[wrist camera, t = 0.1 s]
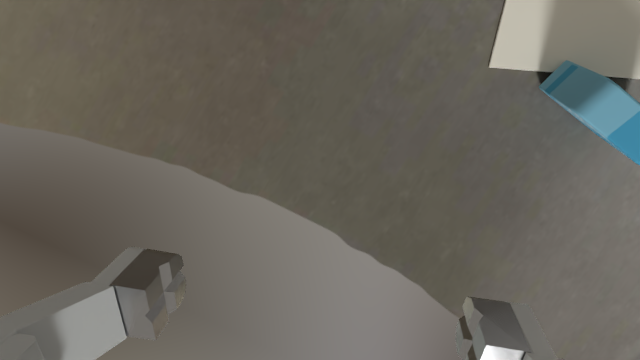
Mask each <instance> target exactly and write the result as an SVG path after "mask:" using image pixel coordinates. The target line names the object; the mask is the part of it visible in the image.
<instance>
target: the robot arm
mask: <svg viewBox="0 0 640 360" xmlns="http://www.w3.org/2000/svg"><path fill="white" fill-rule="evenodd" d="M182 267H183V260H182V256H180V255H179V254H174V253H168V252H163V251H157V250H151V249H143V248H138V247H130V248H127V249H126V250H124V251H123V253H121V254H120V255H119V256H118V257H117V258H116V259H115V260H114V261H113V262H112V263H111V264H110V265H109V266H107V267H106V268H105V269H104V270H103V271H102V272H101V273H100V274H99V275H98V276H97V277H96V278H95V279H94V280H93V281H92V282H84V283H81V284H79V285H77V286H74V287H72V288H69V289H67V290H64V291H62V292H60V293H57V294H55V295H52V296H50V297H47V298H45V299H43V300H40V301H38V302H35V303H33V304H30V305H28V306H26V307H23V308H21V309H18V310H16V311H14V312H11V313H9V314H6V315H4V316H1V317H0V360H95V359H97V358H98V357H99V356H101V355H102V354H104V353H105V352H107V351H108V350H110V349H111V348H113V347H114V346H116V345H117V344H119V343H120V342H122V341H123V340H124V339H126V338H127V337H126V336H128V337H135V338H142V339H149V340H156V339H157V338H158V336H159V335H160V334H161V332H162V331H163V329H164V328H165V326H166V325H167V323H168V322H169V319H168V314H170V313H171V312H173V311H175V310H177V309H178V307H179V305H180V304H181V302H182V300H183V297H184V294H185V291H186V279H185V276H184V275H183V274H182V273H181V272H180V269H181V268H182ZM463 311H464V314H465V316H463V317H462V318H460V319H459V321H458V324H457V328H456V348H457V353H458V356H459V357H460V358H461V359H462V360H564V359H563V358H557V357H556V356H555V354H554V352H553V350H552V348H551V346H550V344H549V342H548V340H547V338H546V336H545V334H544V332H543V330H542V328H541V326H540V325H539V323H538V321H537V319H536V317H535V315H534V313H533V311H532V309H531V307H530V306H529V305H527V304H522V303H514V302H504V301H496V300H489V299H482V298H475V297H467V298H466V299H465V301H464V305H463Z"/></svg>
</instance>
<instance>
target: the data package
mask: <svg viewBox="0 0 640 360" xmlns="http://www.w3.org/2000/svg"><path fill="white" fill-rule="evenodd" d="M539 88H540V89H541V90H542V91H543V92H544V93H546V94H547V95H548V96H549V97H551V98H552V99H553V100H554V101H556V102H557V103H558V104H559V105H560V106H562V107H563V108H564V109H565V110H567V111H568V112H569V113H570V114H572V115H573V116H574V117H575V118H576V119H578V120H579V121H580V122H581V123H583V124H584V125H585V126H586V127H588V128H589V129H590V130H591V131H593V132H594V133H595V134H597V135H598V136H599V137H601V138H602V139H603V140H605V141H606V142H608V143H609V144H610V145H612V146H613V147H615V148H616V149H617V150H619V151H620V152H621V153H623V154H624V155H626V156H627V157H628V158H630V159H631V160H632V161H634V162H635V163H637V164H638V165H640V103H639V102H638V101H636V100H635V99H634V98H633V97H632V96H631V95H629V94H628V93H627V92H626V91H625V90H624V89H622V88H621V87H620V86H619V85H618V84H616V83H615V82H613V81H612V80H610V79H609V78H607V77H605V76H603V75H600V74H598V73H596V72H594V71H591V70H589V69H587V68H584V67H582V66H580V65H577V64H575V63H573V62H571V61H568V60H566V61H565V62H563V63H562V64H561V65H560V66H559V67H558V68H557V69H556V70H555V71H554V72H553V73H552V74H551V75H550V76H549V77H548V78H547V79H546V80H545V81H544V82H543V83H542V84H541V85H540V86H539Z"/></svg>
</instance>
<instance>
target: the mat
mask: <svg viewBox="0 0 640 360" xmlns="http://www.w3.org/2000/svg"><path fill="white" fill-rule="evenodd" d="M566 60H568V61H571V62H573V63H575V64H577V65H580V66H582V67H584V68H587V69H589V70H591V71H594V72H596V73H598V74H600V75H603V76H606V77H618V78H631V79H640V0H505V3H504V7H503V11H502V15H501V18H500V22H499V26H498V30H497V34H496V38H495V42H494V46H493V50H492V54H491V58H490V62H489V65H488V67H491V68H504V69H516V70H529V71H542V72H554V71H555V70H556V69H557V68H558V67H559V66H560V65H561V64H562V63H563V62H565V61H566Z"/></svg>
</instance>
